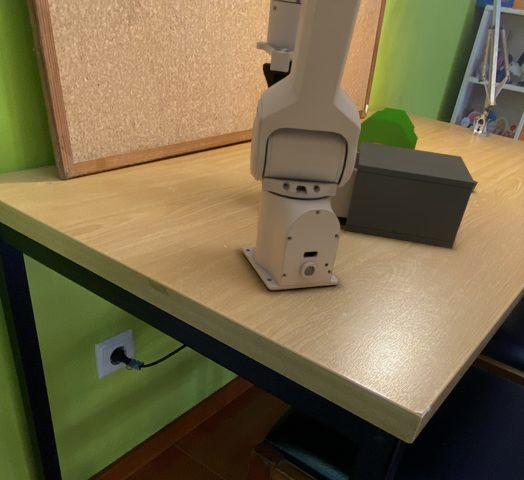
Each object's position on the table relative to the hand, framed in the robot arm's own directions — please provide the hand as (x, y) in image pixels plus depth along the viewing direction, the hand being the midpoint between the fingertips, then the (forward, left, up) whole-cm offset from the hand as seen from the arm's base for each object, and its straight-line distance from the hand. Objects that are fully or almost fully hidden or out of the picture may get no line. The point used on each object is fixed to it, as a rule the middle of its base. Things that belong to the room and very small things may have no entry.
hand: (280, 126), depth 67 cm
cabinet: (-9, -15, -10) cm, 21 cm away
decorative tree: (+11, -25, -10) cm, 29 cm away
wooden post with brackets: (+1, -35, -10) cm, 36 cm away
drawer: (-4, -6, -9) cm, 12 cm away
